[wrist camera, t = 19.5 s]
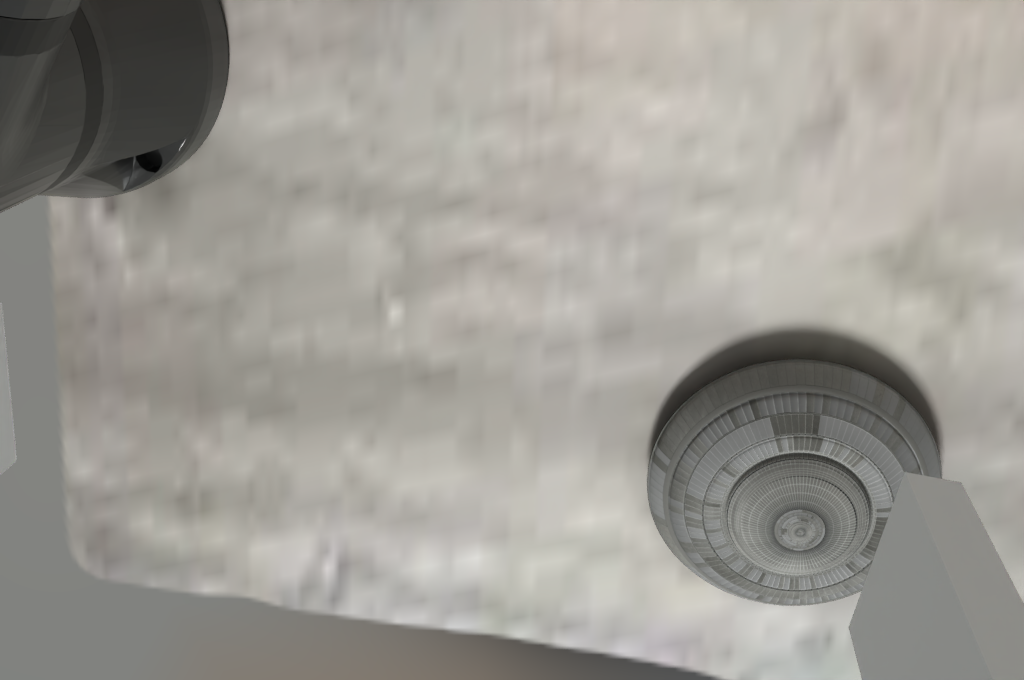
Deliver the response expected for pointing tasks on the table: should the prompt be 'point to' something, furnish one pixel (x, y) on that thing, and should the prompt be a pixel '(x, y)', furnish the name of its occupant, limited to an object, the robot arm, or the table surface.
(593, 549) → the table surface
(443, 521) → the table surface
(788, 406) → the flying saucer
